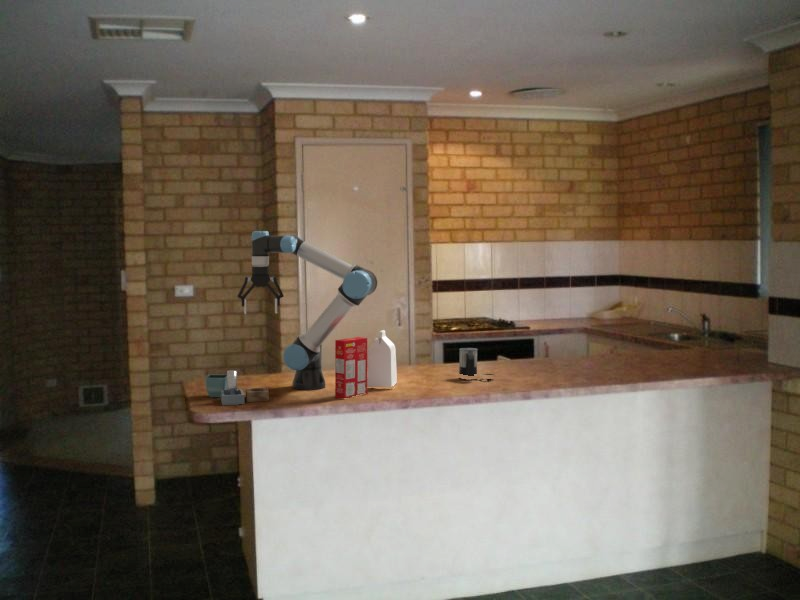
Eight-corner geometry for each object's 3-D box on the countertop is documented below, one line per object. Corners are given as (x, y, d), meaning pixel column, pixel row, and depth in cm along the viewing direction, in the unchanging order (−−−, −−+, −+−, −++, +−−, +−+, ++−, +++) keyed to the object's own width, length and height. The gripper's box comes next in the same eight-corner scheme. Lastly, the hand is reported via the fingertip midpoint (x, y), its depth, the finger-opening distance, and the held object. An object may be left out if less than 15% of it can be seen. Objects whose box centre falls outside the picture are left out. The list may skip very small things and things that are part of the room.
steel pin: (237, 398, 358) (236, 370, 357) (237, 400, 354) (237, 371, 353) (227, 398, 357) (227, 370, 356) (227, 400, 353) (227, 371, 352)
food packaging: (358, 392, 376) (358, 337, 374) (367, 394, 373) (367, 338, 371) (335, 397, 365) (335, 340, 363) (344, 399, 362) (344, 341, 360)
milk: (391, 389, 384) (392, 332, 382) (367, 388, 386) (367, 332, 384) (397, 385, 396) (397, 329, 393) (373, 384, 398) (373, 329, 396)
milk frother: (455, 378, 416) (455, 348, 414) (483, 376, 422) (484, 346, 420) (468, 382, 403) (468, 352, 401) (497, 380, 409) (498, 350, 407)
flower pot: (229, 394, 371) (228, 374, 370) (225, 398, 362) (225, 377, 361) (208, 394, 370) (208, 374, 370) (204, 398, 362) (204, 377, 361)
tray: (242, 398, 363) (242, 389, 362) (244, 404, 350) (244, 394, 350) (220, 399, 360) (220, 389, 360) (222, 405, 348) (222, 395, 348)
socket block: (266, 396, 366) (266, 387, 366) (268, 400, 358) (268, 391, 357) (245, 397, 364) (245, 388, 364) (247, 401, 355) (247, 392, 355)
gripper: (287, 265, 382) (287, 312, 384) (231, 265, 376) (231, 313, 378) (289, 266, 375) (289, 313, 377) (232, 266, 369) (232, 314, 370)
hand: (260, 313), depth 377 cm, fingers open, 13 cm apart
